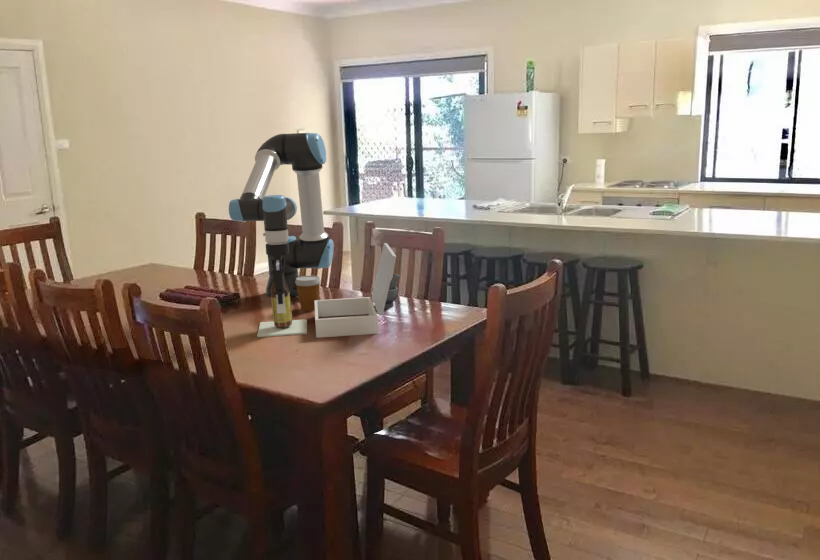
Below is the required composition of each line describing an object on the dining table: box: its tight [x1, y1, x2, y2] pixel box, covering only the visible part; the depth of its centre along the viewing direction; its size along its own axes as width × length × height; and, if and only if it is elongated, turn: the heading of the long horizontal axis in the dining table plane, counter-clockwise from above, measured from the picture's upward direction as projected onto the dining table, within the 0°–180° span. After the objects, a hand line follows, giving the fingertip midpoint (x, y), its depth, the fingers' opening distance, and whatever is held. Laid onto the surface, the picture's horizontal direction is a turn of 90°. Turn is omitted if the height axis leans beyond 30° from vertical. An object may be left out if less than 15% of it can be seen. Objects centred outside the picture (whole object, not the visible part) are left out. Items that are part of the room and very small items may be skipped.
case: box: [314, 296, 379, 339], centre depth 234 cm, size 26×20×6 cm
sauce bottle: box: [270, 268, 293, 328], centre depth 230 cm, size 6×6×20 cm
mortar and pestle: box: [371, 273, 401, 309], centre depth 257 cm, size 11×9×12 cm
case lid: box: [371, 242, 397, 316], centre depth 233 cm, size 26×20×1 cm
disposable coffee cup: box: [295, 275, 322, 312], centre depth 255 cm, size 10×10×12 cm
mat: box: [256, 318, 308, 338], centre depth 232 cm, size 16×16×1 cm
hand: (281, 310), depth 231 cm, fingers open, 6 cm apart
